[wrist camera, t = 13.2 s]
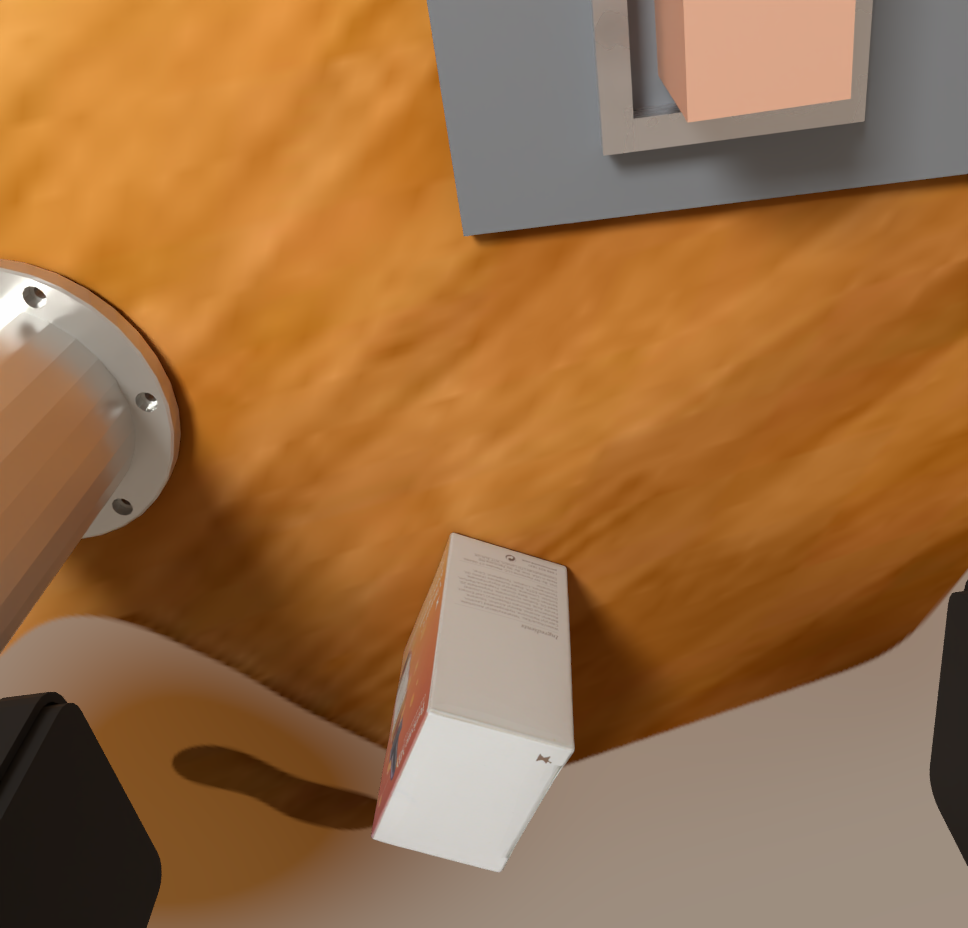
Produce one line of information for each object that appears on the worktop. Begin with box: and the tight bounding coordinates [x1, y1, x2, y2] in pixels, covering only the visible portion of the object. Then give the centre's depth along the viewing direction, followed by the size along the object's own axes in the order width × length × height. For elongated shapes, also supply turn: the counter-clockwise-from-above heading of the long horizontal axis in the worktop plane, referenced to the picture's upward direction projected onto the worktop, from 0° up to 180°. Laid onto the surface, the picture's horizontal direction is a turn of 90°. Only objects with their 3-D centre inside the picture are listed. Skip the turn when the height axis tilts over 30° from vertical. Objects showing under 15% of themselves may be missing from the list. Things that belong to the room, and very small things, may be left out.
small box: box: [371, 533, 575, 872], centre depth 39 cm, size 8×6×10 cm
